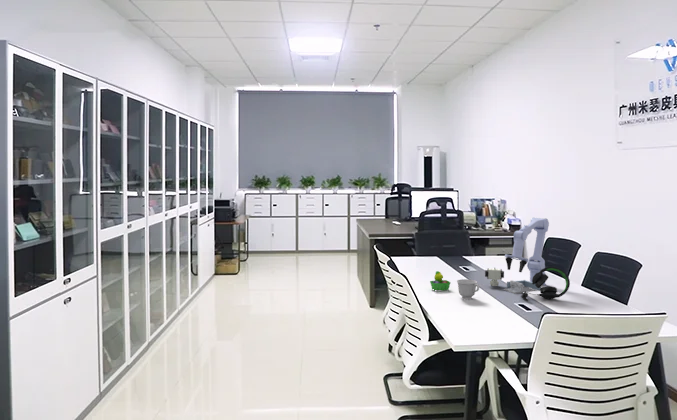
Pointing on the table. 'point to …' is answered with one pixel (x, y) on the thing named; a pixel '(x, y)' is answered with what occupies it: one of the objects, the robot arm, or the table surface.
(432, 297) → the table surface
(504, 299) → the table surface
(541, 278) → the headset
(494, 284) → the pneumatic valve
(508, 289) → the angle bracket
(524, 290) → the pad
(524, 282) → the corner walls
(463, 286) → the teacup
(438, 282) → the fruit basket
